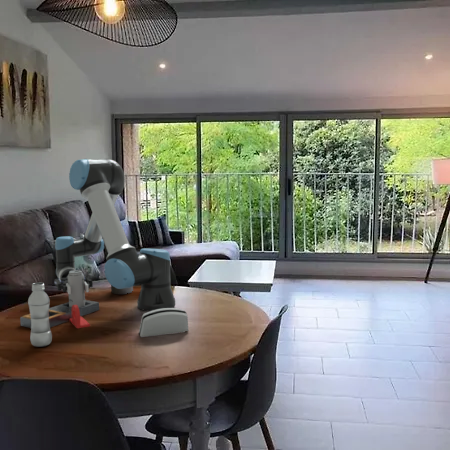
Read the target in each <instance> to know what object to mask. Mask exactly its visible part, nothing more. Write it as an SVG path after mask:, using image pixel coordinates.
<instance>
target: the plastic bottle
mask: <svg viewBox="0 0 450 450" xmlns="http://www.w3.org/2000/svg"><path fill="white" fill-rule="evenodd" d="M45 290H46V289H45V283H44V282H34V283H32V284H31V291H32V292H31V294H30V295H29V297H28V300H27V302H28V303H27V304H28V308H29V314H31V328H30V329H31V330H30V339H29V340H30V344H31V345H32V346H33V347H37V348H38V347H39V348H40V347H46V346H49V345H50V344H51V343H52V340H53V334H52V329H51V327H50V324H49V308H50V304H51V303H50V301H51V300H50V297H49V295H48V294H47V292H45Z"/></svg>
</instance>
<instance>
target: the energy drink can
mask: <svg viewBox="0 0 450 450" xmlns="http://www.w3.org/2000/svg"><path fill="white" fill-rule="evenodd" d="M84 277H85V275H84V273H83V271H82V270H80V269H79V270H78V269H75V270H73V271H70V272H69V275H68V284H69V286H70V287H71V294H68V302H69V307H72V305H77V306H78V308H79V307H82V306H85V300H86V291H85V289H84Z"/></svg>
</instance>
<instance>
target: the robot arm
mask: <svg viewBox="0 0 450 450" xmlns="http://www.w3.org/2000/svg"><path fill="white" fill-rule="evenodd" d="M68 174H69V175H68V179H69V184H70V186H71V188H72V189H74V190H75V191H79V192H80V195H81V197H82V198H84V199H87V202H88V204H89V207H90V209H91V212H92V213H91V216H90V218H89V222H88V225H87V228H86V231H85V233H84V235H83V238H79V239H74V236H68V235H67V236H66V235H65V236H59V237H56V239H55V243H54V244H55V247H54V248H55V257H56V260H55V262H56V265H55V267H56V269H55V275H56V277H57V278H55V279H54V286H55V287H56V288H57V291H61V290H62V292H63V293H67V294H68V295H69V294H71V287H70V286H69V284H68V275H69V272H70V271H73V270H76V268H75V267H76V266H75V265H76V264H75V261H76V260H75V258H77V257H78V258H79V257H84V256H91V255H96V254H100V253H102V252H103V250H104V249H106V251H107V253H108V254H107V256H106V257H105V260H106V262H105V264H104V267H103V269H104V276H105V279H106V280H107V282H108V283H109V284H110V286H111V285H112V286H113V287H115V288H117V289H123V288H130V287H132V286H133V287H135V286H140V285H141V286H140V287H141V288H140V290H139V291H140V292H139V294H138V299H137V301H136V305H137V306H136V307H137V309H139V310H142V311H147V312H150V311H153V310H157V309H162V308H175V307H176V299H175V295H174V293H173V289H172V287H171V255H170V252H169V251H168V250H167V249H162V248H145V247H144V248H141V249H140V250H139V254H138V252H137V249H136V247H135V246H132V245H131V244H130V242H129V240H128V237H127V234H126V233H125V230H124V228H123V225H122V223H121V220H120V217H119V215H118V212H117V210H116V207H115V205H116V202H117V199H118V196H120V195H121V194H122V193H123V190H124V187H125V180H126V179H125V172H124V169H123V168H122V166H121V164H119V163H118V162H117V161H116V160H114V159H111V158H91V159H90V158H89V159H88V158H83V159H77V160H74V162H73V163H72V164H71V166H70V169H69V173H68ZM93 286H94V285H93V279H91V278H90V277H89V275H86V276H85V275H84V289H85V293H89V291H90V289H91V288H93Z"/></svg>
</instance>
